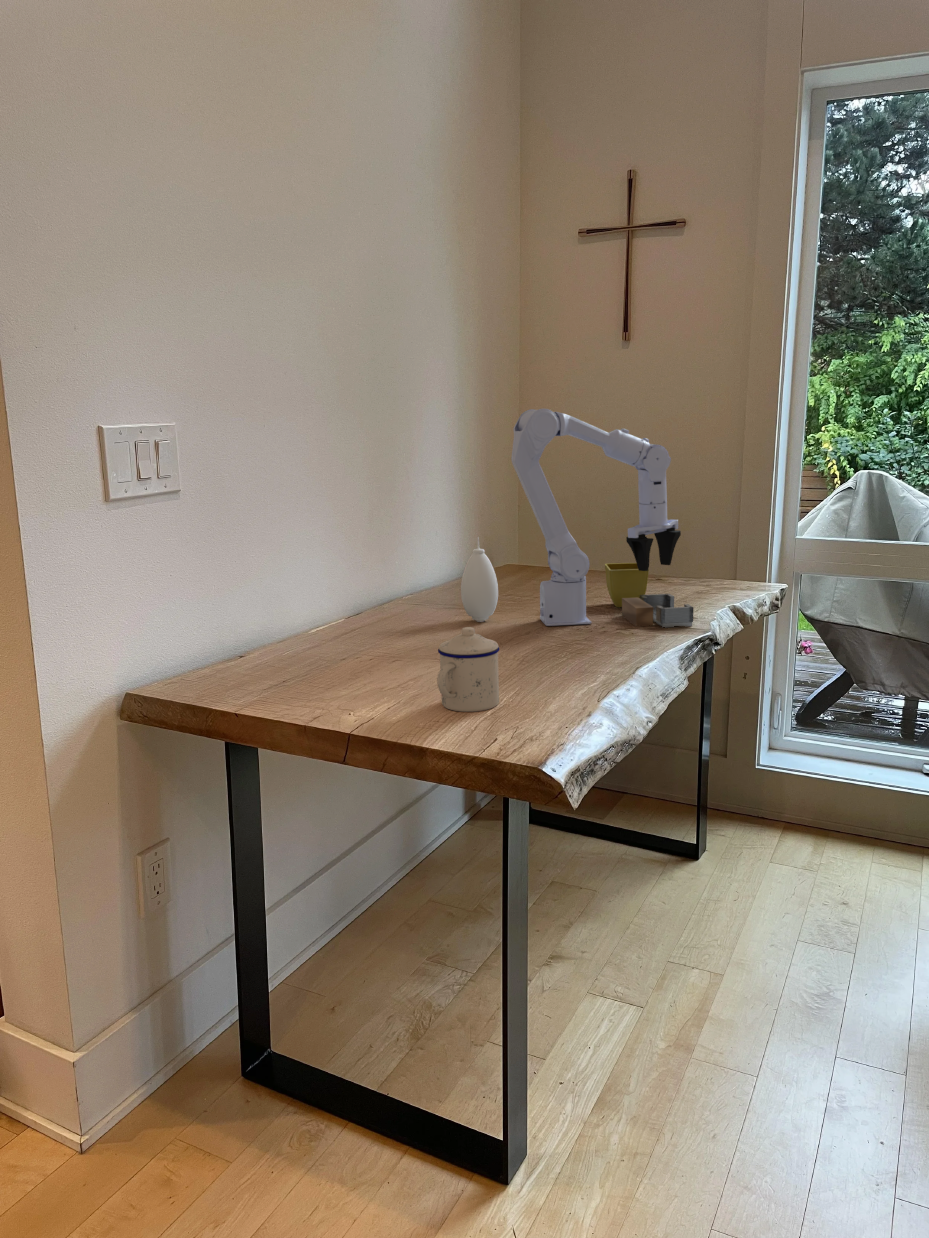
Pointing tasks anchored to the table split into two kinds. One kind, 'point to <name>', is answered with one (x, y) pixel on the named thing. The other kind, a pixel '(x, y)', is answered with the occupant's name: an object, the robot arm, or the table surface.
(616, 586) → the flower pot
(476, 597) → the white rubber air blower
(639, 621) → the block
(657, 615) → the bracket
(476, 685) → the teacup with lid
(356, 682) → the table surface
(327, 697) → the table surface
